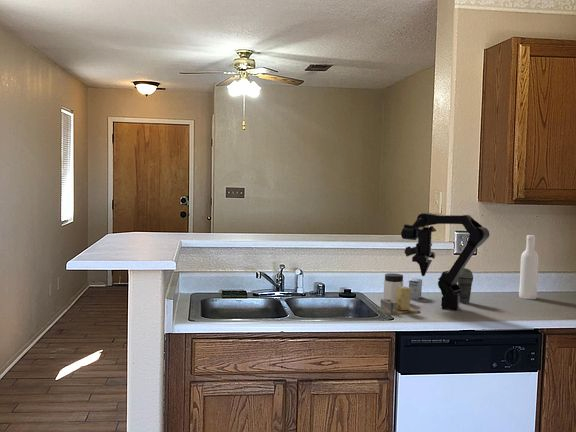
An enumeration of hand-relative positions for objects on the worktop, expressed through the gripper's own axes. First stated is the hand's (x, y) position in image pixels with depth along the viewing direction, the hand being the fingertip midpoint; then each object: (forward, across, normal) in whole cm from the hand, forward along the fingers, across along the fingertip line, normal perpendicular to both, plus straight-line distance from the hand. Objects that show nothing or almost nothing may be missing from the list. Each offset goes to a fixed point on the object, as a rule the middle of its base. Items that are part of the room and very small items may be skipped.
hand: (423, 276), depth 265 cm
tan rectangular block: (+11, +21, -5) cm, 25 cm away
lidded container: (+13, +1, -13) cm, 18 cm away
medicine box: (+13, -11, -6) cm, 18 cm away
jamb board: (+12, +20, -4) cm, 24 cm away
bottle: (+13, -41, +41) cm, 59 cm away
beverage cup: (+13, -13, +16) cm, 24 cm away
